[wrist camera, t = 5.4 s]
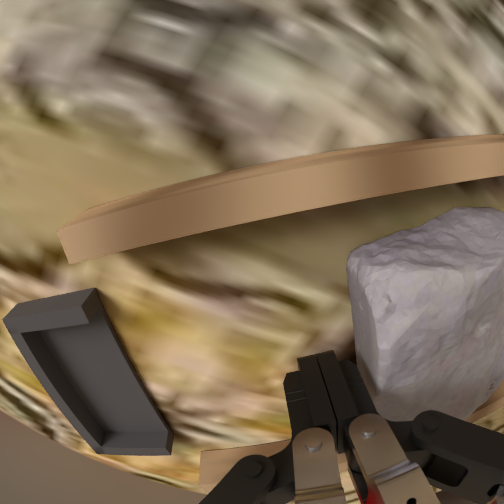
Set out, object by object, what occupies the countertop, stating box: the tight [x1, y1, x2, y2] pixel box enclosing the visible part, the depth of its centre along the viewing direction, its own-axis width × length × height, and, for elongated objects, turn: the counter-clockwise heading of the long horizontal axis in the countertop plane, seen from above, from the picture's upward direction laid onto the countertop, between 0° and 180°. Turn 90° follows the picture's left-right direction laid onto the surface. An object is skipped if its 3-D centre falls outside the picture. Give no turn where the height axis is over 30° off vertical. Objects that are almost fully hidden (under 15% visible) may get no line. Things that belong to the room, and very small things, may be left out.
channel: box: [57, 134, 504, 492], centre depth 13 cm, size 22×16×2 cm
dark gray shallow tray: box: [2, 288, 174, 456], centre depth 14 cm, size 5×10×2 cm, turn 12°
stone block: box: [346, 207, 504, 421], centre depth 13 cm, size 12×5×10 cm
